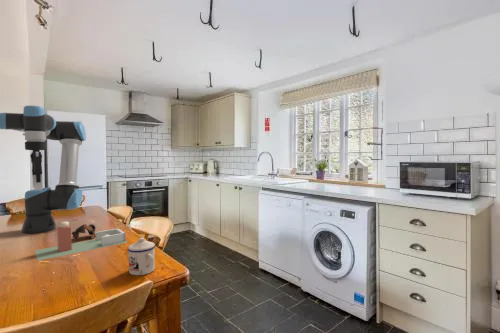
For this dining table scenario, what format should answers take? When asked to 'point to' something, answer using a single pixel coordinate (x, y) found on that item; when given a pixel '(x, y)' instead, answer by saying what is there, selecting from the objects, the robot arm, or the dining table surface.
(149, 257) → the teacup with lid
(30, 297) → the dining table surface
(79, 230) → the pottery mug
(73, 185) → the robot arm
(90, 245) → the felt mat
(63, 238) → the red tall block
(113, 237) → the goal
